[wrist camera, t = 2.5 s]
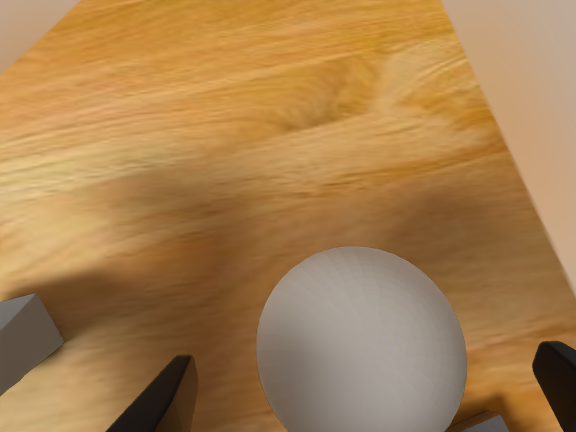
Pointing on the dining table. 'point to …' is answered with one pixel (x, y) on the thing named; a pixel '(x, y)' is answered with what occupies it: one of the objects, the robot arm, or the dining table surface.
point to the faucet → (24, 338)
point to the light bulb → (360, 346)
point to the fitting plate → (481, 423)
